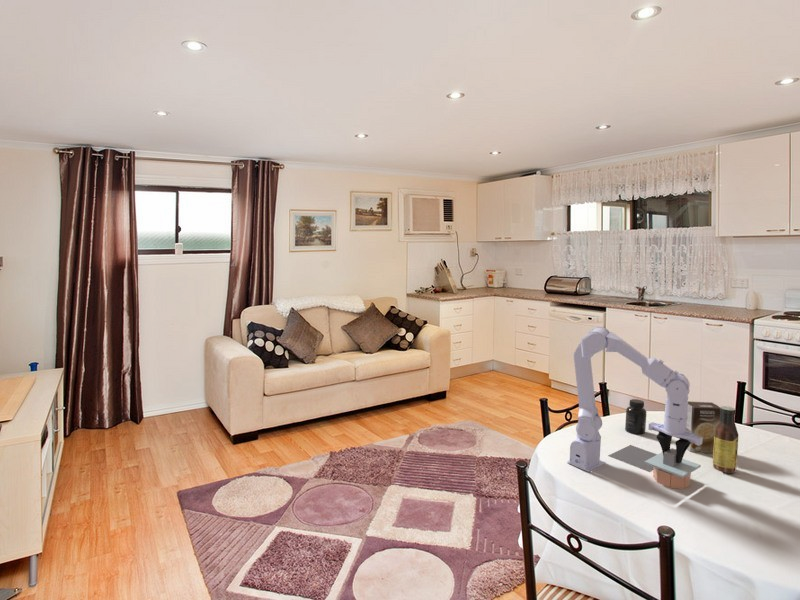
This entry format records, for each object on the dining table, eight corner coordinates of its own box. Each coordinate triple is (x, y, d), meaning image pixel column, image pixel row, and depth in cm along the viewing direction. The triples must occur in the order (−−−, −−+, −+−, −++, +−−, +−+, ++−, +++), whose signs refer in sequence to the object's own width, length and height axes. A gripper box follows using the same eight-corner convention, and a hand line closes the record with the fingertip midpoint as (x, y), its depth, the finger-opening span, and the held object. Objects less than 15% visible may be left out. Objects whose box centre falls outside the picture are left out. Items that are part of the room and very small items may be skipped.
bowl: (679, 492, 142) (680, 478, 141) (648, 480, 149) (649, 466, 148) (694, 483, 147) (695, 469, 146) (663, 471, 154) (664, 458, 154)
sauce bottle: (739, 475, 152) (745, 413, 149) (717, 473, 153) (722, 411, 150) (730, 465, 158) (735, 405, 155) (708, 463, 159) (713, 404, 157)
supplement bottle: (648, 436, 181) (650, 404, 180) (629, 435, 181) (631, 404, 180) (640, 428, 188) (642, 398, 186) (621, 428, 188) (623, 398, 186)
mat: (649, 473, 153) (649, 471, 153) (607, 457, 164) (607, 455, 164) (671, 461, 161) (671, 459, 161) (630, 446, 173) (630, 444, 173)
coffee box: (689, 453, 167) (693, 407, 165) (680, 445, 173) (684, 401, 171) (718, 454, 166) (722, 408, 164) (708, 446, 172) (712, 401, 170)
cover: (682, 477, 140) (683, 464, 139) (644, 463, 149) (645, 450, 148) (700, 466, 146) (701, 453, 146) (662, 453, 155) (663, 441, 154)
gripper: (708, 420, 142) (705, 465, 144) (657, 406, 153) (655, 447, 155) (697, 426, 138) (693, 472, 140) (645, 411, 149) (643, 453, 151)
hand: (672, 460), depth 147 cm, fingers closed on cover, 3 cm apart
